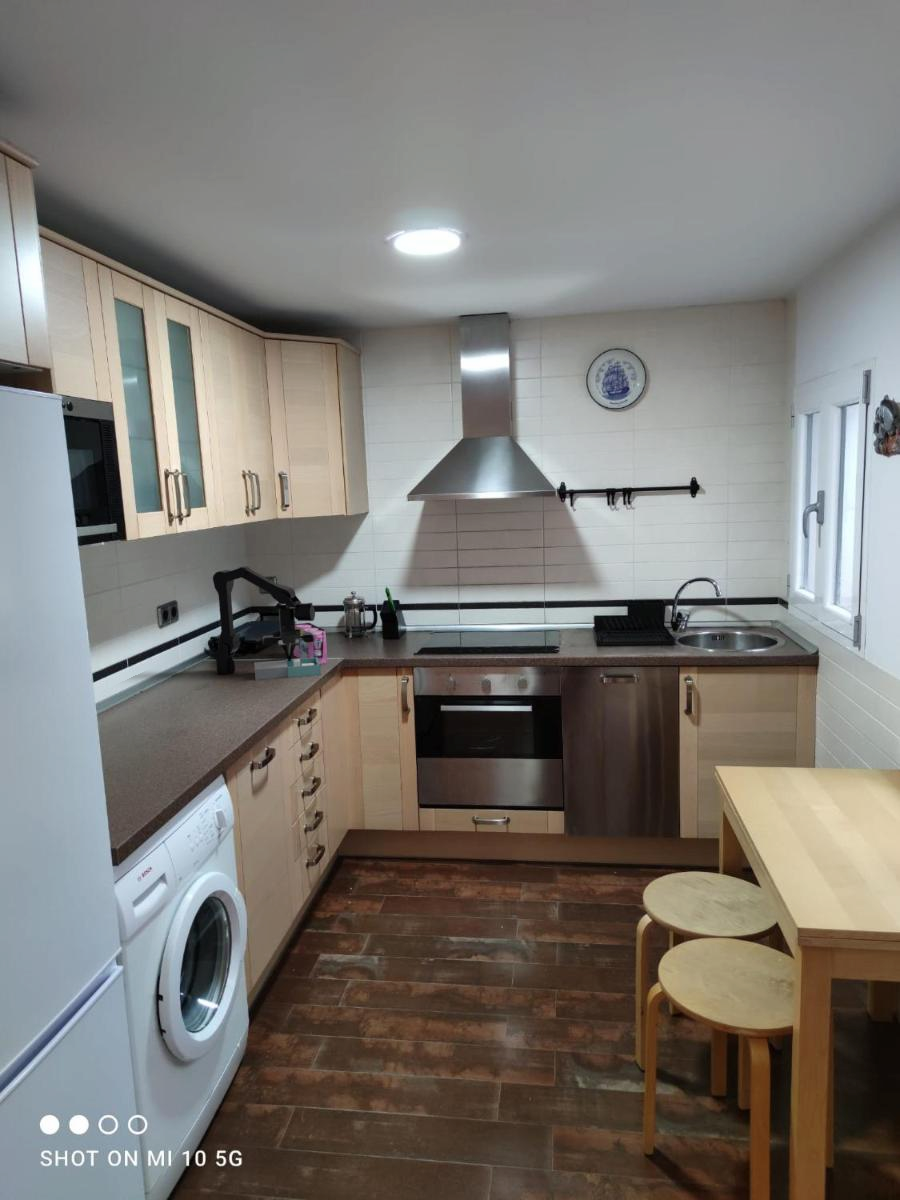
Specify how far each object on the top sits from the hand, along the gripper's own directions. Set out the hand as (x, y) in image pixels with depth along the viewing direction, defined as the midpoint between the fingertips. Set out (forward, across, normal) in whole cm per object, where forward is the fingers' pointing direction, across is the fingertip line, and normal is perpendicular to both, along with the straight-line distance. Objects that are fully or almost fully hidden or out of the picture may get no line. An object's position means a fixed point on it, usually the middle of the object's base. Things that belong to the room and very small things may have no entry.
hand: (289, 661), depth 298 cm
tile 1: (+2, +2, 0) cm, 3 cm away
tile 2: (+2, +7, 0) cm, 7 cm away
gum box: (+5, +10, +23) cm, 25 cm away
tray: (+5, +5, 0) cm, 7 cm away
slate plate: (+5, -7, 0) cm, 8 cm away
